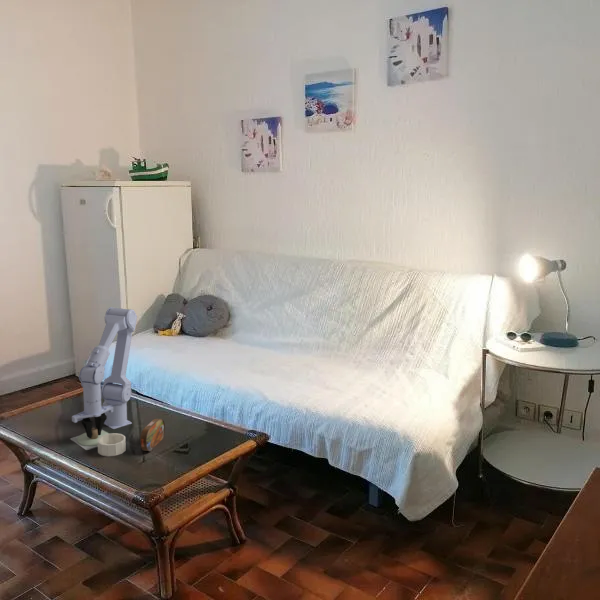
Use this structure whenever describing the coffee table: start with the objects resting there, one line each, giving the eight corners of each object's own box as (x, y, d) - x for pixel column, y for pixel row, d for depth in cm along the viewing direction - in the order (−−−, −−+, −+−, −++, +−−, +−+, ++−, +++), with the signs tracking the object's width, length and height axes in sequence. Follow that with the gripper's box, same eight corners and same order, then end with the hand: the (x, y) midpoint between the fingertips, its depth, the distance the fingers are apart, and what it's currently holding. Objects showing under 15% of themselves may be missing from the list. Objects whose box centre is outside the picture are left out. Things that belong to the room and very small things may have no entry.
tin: (147, 455, 199) (147, 432, 198) (138, 454, 200) (138, 431, 198) (166, 436, 214) (165, 415, 212) (157, 435, 215) (157, 414, 213)
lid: (71, 438, 209) (71, 428, 208) (100, 429, 217) (100, 420, 216) (86, 449, 201) (86, 438, 201) (116, 439, 209) (115, 429, 208)
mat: (69, 439, 209) (69, 438, 209) (101, 429, 217) (101, 428, 217) (86, 451, 201) (86, 450, 201) (118, 440, 209) (118, 439, 209)
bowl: (93, 450, 202) (92, 438, 201) (117, 442, 208) (116, 431, 207) (106, 460, 196) (106, 447, 195) (130, 451, 202) (130, 439, 201)
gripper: (78, 408, 198) (79, 445, 201) (117, 397, 208) (118, 433, 211) (68, 402, 203) (70, 438, 206) (107, 392, 213) (108, 427, 216)
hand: (93, 435), depth 209 cm, fingers closed on lid, 3 cm apart
